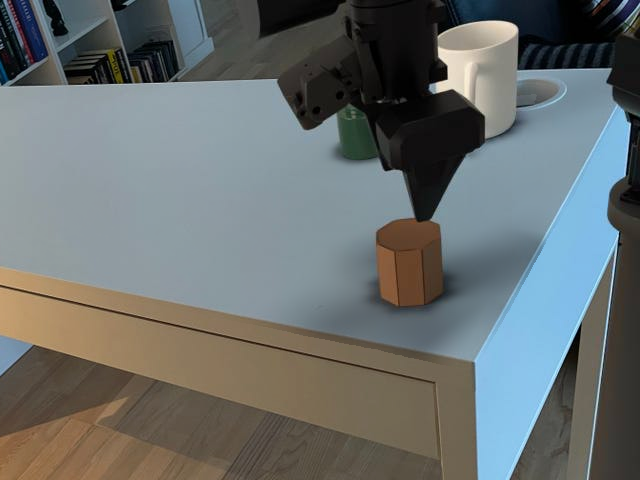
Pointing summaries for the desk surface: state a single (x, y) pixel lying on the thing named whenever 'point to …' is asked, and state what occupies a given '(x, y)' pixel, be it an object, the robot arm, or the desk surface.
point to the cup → (483, 69)
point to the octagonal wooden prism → (409, 261)
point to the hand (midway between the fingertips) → (405, 193)
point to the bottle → (354, 134)
